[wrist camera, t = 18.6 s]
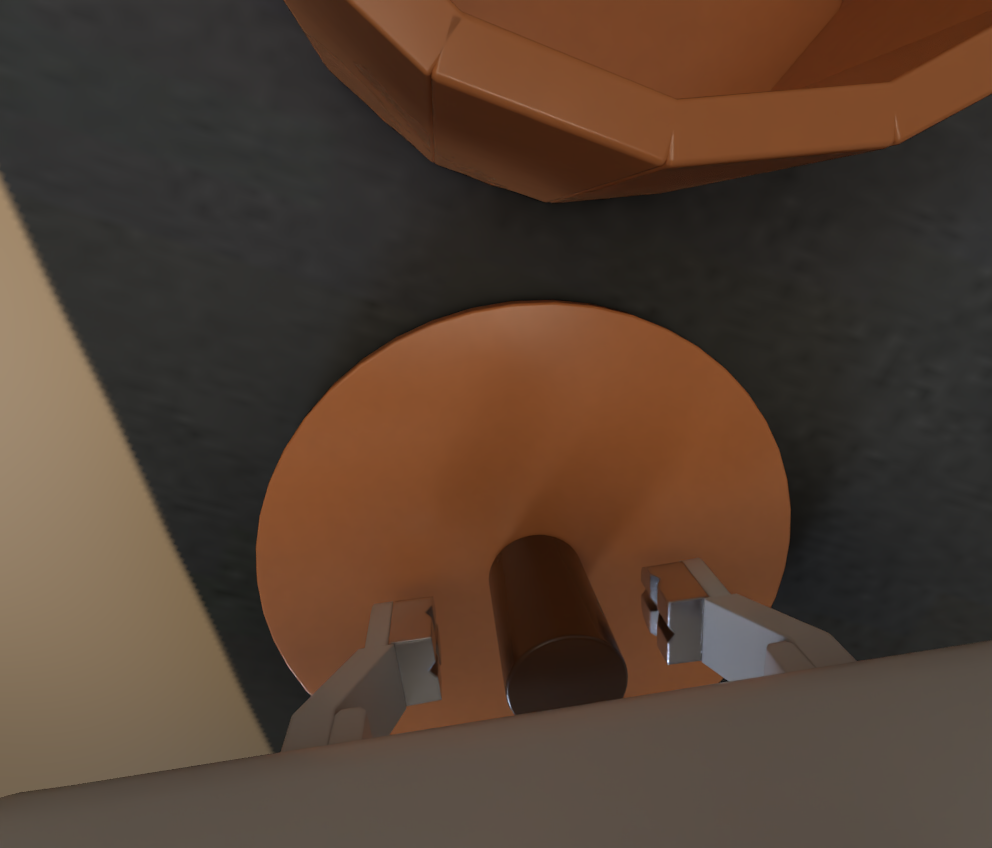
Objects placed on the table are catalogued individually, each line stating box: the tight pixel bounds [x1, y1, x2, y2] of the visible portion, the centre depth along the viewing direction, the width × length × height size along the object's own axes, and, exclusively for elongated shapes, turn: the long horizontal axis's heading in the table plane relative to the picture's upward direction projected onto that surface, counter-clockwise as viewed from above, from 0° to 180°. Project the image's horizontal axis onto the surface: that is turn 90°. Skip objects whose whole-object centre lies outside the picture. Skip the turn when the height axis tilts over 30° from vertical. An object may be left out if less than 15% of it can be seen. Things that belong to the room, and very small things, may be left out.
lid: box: [256, 300, 791, 735], centre depth 14 cm, size 15×15×5 cm
